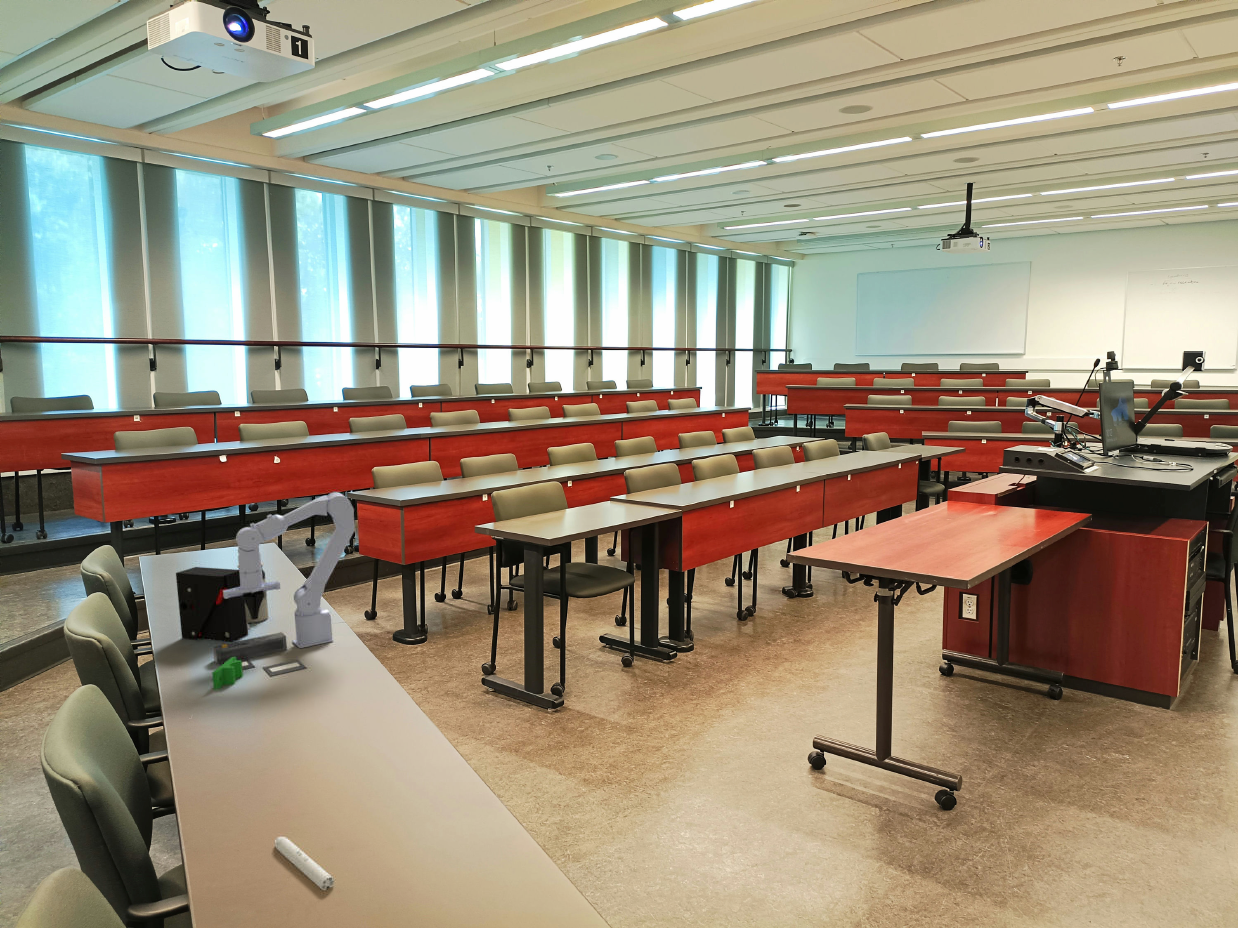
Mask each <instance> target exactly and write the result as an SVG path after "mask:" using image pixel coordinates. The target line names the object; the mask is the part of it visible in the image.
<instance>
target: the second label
mask: <svg viewBox="0 0 1238 928" xmlns="http://www.w3.org/2000/svg"><path fill="white" fill-rule="evenodd" d="M262 669H263V670H264V671H265V672H266V673H267V674H268V676H270V677H275V676H279V675H283V674H287V673H293V672H296V671H300V670H304V669H305V670H306V669H307V666H306V665H305V664H304V663H303V662H301V661H300V660H299V659H293V660H289V661H285V662H281V663H277V664H275V663H274V664H272V665H267V666H263V667H262Z"/></svg>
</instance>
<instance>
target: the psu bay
mask: <svg viewBox="0 0 1238 928" xmlns="http://www.w3.org/2000/svg"><path fill="white" fill-rule="evenodd" d="M287 644H288V643H287V636H286V634H284V633H283V631H282V632H277V633H272V634H267V635H261V636H257V637H252V638H247V639H242V640H236V641H234V642H226V643H223V644H218V645H213V646H212V651H213V652H212V653H213V662H215V664H216V663H217V664H219V665H220V664H223V663H225V662H226V661H227V660H229V659H230V658H231V657H236V659H237V661H239V660H244V659H252V658H256V657H261V656H265V655H269V654H274V653H278V652H283V651H287V650H288V647H287V646H288V645H287ZM217 664H216V665H217Z"/></svg>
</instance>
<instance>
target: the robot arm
mask: <svg viewBox="0 0 1238 928" xmlns="http://www.w3.org/2000/svg"><path fill="white" fill-rule="evenodd" d="M354 512H355V509H354V507H353V505H352V503H351V500H350V499H349V498H347V497H346V496H345V495H344V494H343V493H341V492H337V491H333V492H331V493H329V494H327V495H322V496H320V497H318V498H315V499H313V500H311V501H309V502H308V503H305V504H303V505H301V506H300V507H298V508H296V509H294V510H292V511H290V512H288V513H286V514H284V515H280V514H278V513H277V514H274V515H272V514H267V515H266V518H265V519H263V520H261V521H258V522H257V523H254V522H252V523H250V524H249V526H246V527H243V528H241V529H239V530H238V532H237V533H236V537H235V542H236V543H237V546H238V547H237V548H238V549H237V554H238V556H237V560H238V565H239V568H238V570H239V574H240V587H236V588H233V589H229V590H223V597H224V598H225V599H227V598H229V597H234V596H240V595H241V597H242V599H243V600H244V602H245V603H246V605H247V607H248V610H249V612H250V616H251V619H252V620H254V619H258V614H259V609H260V605H261V603H262V600H263V598H264V593H263V591H266V592H268V591H273V590H275V591H276V590H281V582H280V581H278V580H277V581H270V582H269V581H268V582H266V583H263V579H262V569H263V566H262V567H261V562H262V556H261V555H262V554H261V553H260V545H261V544H262V543H263V544H264V543H266V542H268V541H270V540H273V539H274V538H277V537H279V536H280V535H283V534H285V533H286V532H287V529H288V527H289V526H291V525H293V524H297V523H298V522H301V521H303V520H306V519H308V518H310V517H313V516H315V515H317V516H327V517H328V514H329V515H330V517H331V518H332V521H333V524H334V526H335V529H334V532H333V533H332V535H331V536H330V538H329V540H328V542H327V544H326V545H325V547H324V549H323V551H322V553H321V555H320V557H319V558H318V560H317V561H316V564H315V566H314V567H313V569H312V572H311V573H310V575H309V577H307V579H306V580H305V581H304V582H303V584H302V585H301V586H300V587H299V588H297V589H296V591H295V592H294V594H293V601H294V603H295V605H296V609H295V611H294V624H295V625H294V626H295V637H296V638H294V639H292V641H291V642H292V643H293V644H294V645H296V646H297V647H298V648H299V649H303V648H308V647H312V646H317V645H321V644H326V643H327V644H328V643H330V642H333V641H334V638H333V629H332V628H333V626H332V618H331V614H330V611H329V609H327V608H324V609H323V608H321V599H322V596H323V594H324V591H325V587H326V585H327V582H328V581H329V578H330V576H331V575H332V573H333V572H334V569H335V567H336V566H337V563H338V561H339V560H340V558H341V556H342V554H343V553H344V551H345V549H346V547H347V545H348V543H349V541H350V540H351V538H352V536H353V534H354V532H355V528H356V527H355V515H354Z"/></svg>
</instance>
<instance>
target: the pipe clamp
mask: <svg viewBox="0 0 1238 928" xmlns="http://www.w3.org/2000/svg"><path fill="white" fill-rule="evenodd" d="M211 673H212V674H211V675H212V684H213V690H219V689H220V688H222V687H223V686H225V685H235V684H236V679H242V678H243V677H244V675H243V670H242V660H238V661H237V659H236V657H231V658H230V659H229V660H227V661H226V662H225V663H224V664H222V665H221V666H220V665H219V666H218V667H217V668H216V669H215V670H214V671H212V672H211Z"/></svg>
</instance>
